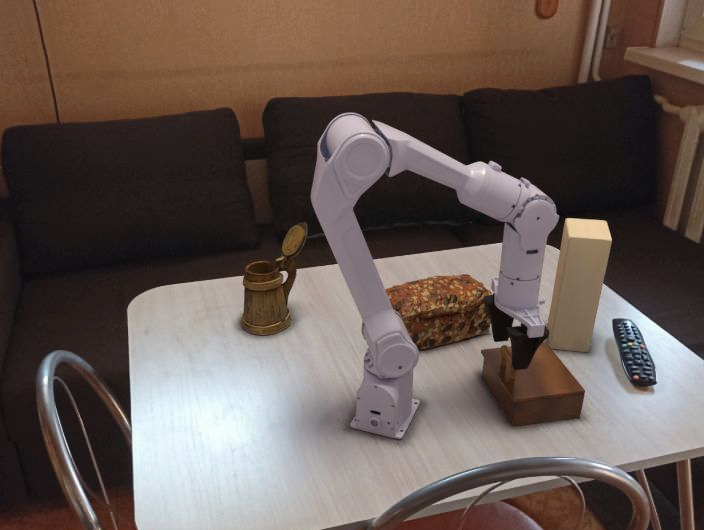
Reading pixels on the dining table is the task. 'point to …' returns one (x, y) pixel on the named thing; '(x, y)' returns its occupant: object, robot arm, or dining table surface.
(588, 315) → the beige tall block
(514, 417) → the trinket box
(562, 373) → the box lid
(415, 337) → the bread
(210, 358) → the dining table surface
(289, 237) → the wooden mug
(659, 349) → the dining table surface
